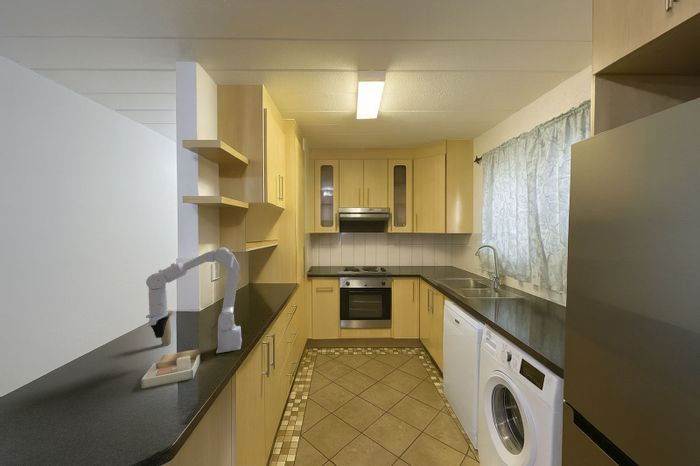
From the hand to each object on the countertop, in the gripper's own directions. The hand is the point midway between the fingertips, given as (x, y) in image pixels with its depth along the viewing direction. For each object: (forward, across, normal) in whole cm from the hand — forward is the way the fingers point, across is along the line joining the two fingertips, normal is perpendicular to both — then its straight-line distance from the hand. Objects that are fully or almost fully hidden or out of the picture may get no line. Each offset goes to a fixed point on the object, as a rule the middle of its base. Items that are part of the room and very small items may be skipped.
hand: (159, 337), depth 103 cm
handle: (+10, -18, -3) cm, 21 cm away
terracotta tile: (+8, +14, +5) cm, 16 cm away
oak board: (+10, +4, +8) cm, 13 cm away
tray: (+10, +13, +8) cm, 18 cm away
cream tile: (+8, +10, +10) cm, 16 cm away
